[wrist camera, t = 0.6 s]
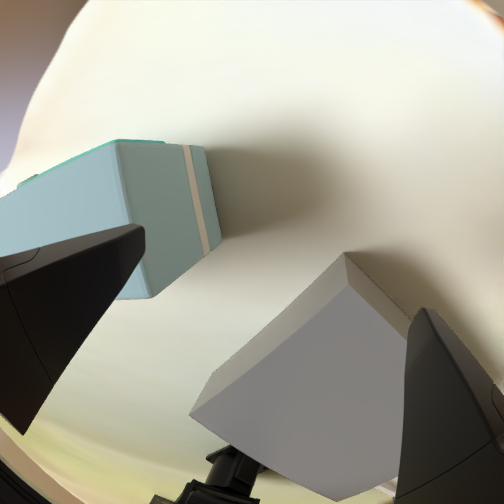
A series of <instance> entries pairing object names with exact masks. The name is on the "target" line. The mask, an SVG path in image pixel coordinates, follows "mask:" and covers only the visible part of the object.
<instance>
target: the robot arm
mask: <svg viewBox="0 0 504 504" xmlns="http://www.w3.org/2000/svg"><path fill="white" fill-rule="evenodd" d="M145 250H146V239H145V228H144V227H143V226H142V225H138V224H135V223H131V224H127V225H123V226H119V227H114V228H110V229H106V230H102V231H98V232H94V233H90V234H86V235H82V236H78V237H74V238H70V239H67V240H63V241H59V242H55V243H52V244H48V245H44V246H42V247H37V248H34V249H30V250H26V251H23V252H19V253H15V254H11V255H7V256H3V257H0V415H1V416H2V417H3V418H4V419H5V420H6V421H7V422H8V423H9V424H10V425H11V426H12V427H13V428H15V429H16V430H17V431H18V432H19V433H20V434H21V435H24V434H25V433H26V431H27V430H28V428H29V426H30V424H31V423H32V421H33V419H34V418H35V416H36V414H37V413H38V411H39V409H40V408H41V406H42V404H43V403H44V401H45V400H46V398H47V396H48V395H49V393H50V392H51V390H52V389H53V387H54V385H55V384H56V382H57V381H58V379H59V378H60V376H61V374H62V373H63V371H64V370H65V368H66V367H67V365H68V364H69V362H70V361H71V360H72V358H73V357H74V355H75V354H76V352H77V351H78V349H79V348H80V346H81V345H82V344H83V342H84V341H85V339H86V338H87V337H88V335H89V334H90V332H91V331H92V330H93V328H94V327H95V325H96V324H97V323H98V321H99V320H100V318H101V317H102V316H103V314H104V313H105V312H106V310H107V309H108V308H109V306H110V305H111V304H112V302H113V301H114V300H115V298H116V297H117V296H118V294H119V293H120V292H121V290H122V289H123V287H124V286H125V284H126V283H127V281H128V280H129V278H130V276H131V275H132V273H133V271H134V270H135V268H136V267H137V265H138V263H139V262H140V260H141V259H142V257H143V256H144V253H145ZM206 460H207V461H209V462H210V463H212V464H213V466H212V468H211V471H210V473H209V475H208V477H207V479H206V482H205V484H204V483H201V482H199V481H197V480H195V479H193V480H192V481H191V483H187V484H186V486H185V488H184V490H183V492H182V493H181V494H180V496H179V497H178V498H177V500H176V501H175V502H174V504H259V502H260V499H257V498H256V499H254V498H251V497H250V494H251V491H252V488H253V486H254V484H255V481H256V477H257V474H259V473H261V472H264V471H266V470H268V469H269V468H268V467H266V466H265V465H263V464H261V463H259V462H258V461H256V460H254V459H253V458H251V457H249V456H248V455H246V454H245V453H243V452H241V451H240V450H238V449H237V448H235V447H234V446H232V445H231V444H230V445H228V446H226V447H224V448H222V449H220V450H218V451H216V452H214V453H212V454H210V455H208V456H207V457H206ZM0 504H59V503H57V502H56V501H55V500H53V499H52V498H51V497H49V496H48V495H47V494H45V493H44V492H43V491H41V490H40V489H39V488H38V487H36V486H35V485H34V484H33V483H32V482H30V481H29V480H28V479H27V478H25V477H24V476H23V475H22V474H21V473H20V472H19V471H18V470H16V469H15V468H14V467H13V466H12V465H11V464H10V463H9V462H8V461H7V460H6V459H5V458H3V457H2V456H1V455H0ZM394 504H504V395H503V394H502V393H501V391H500V390H499V389H498V387H497V386H496V384H493V381H492V379H491V378H490V377H489V375H488V374H487V373H486V371H485V370H484V369H483V368H482V366H481V365H480V364H479V362H478V361H477V360H476V359H475V357H474V356H473V355H472V354H471V352H470V351H469V350H468V349H467V347H466V346H465V345H464V344H463V343H462V341H461V340H460V339H459V338H458V337H457V335H456V334H455V333H454V332H453V331H452V330H451V328H450V327H449V326H448V325H447V324H446V323H445V321H444V320H443V319H442V318H441V317H440V316H439V315H438V313H437V312H436V311H435V310H434V309H431V308H427V307H422V308H421V309H420V310H419V311H418V313H417V315H416V316H415V318H414V320H413V321H412V323H411V325H410V327H409V329H408V336H407V350H406V361H405V372H404V412H403V430H402V444H401V455H400V464H399V473H398V480H397V487H396V494H395V500H394Z"/></svg>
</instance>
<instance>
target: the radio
mask: <svg viewBox="0 0 504 504" xmlns="http://www.w3.org/2000/svg"><path fill="white" fill-rule="evenodd" d="M131 223H135V224H138V225H142V226H143V227H144V228H145V239H146V250H145V253H144V256H143V257H142V259H141V260H140V262H139V263H138V265H137V267H136V268H135V270H134V271H133V273H132V275H131V276H130V278H129V280H128V281H127V283H126V284H125V286H124V287H123V289H122V290H121V292H120V293H119V294H118V296H117V297H116V298H115V300H130V299H148V298H153V297H155V296H156V295H157V294H159V293H160V292H161V291H162V290H164V289H165V288H166V287H167V286H169V285H170V284H171V283H172V282H173V281H175V280H176V279H177V278H178V277H180V276H181V275H182V274H183V273H185V272H186V271H187V270H188V269H190V268H191V267H192V266H193V265H195V264H196V263H197V262H198V261H199V260H201V259H202V258H203V257H204V256H206V255H207V254H208V253H209V252H210V251H212V250H213V249H215V248H216V247H217V246H218V245H220V244H221V242H222V237H221V231H220V226H219V221H218V216H217V211H216V206H215V201H214V196H213V191H212V186H211V181H210V175H209V170H208V165H207V160H206V154H205V150H204V148H203V147H202V146H193V145H178V144H166V143H165V142H163V141H151V140H129V139H117V140H113V141H110V142H108V143H105V144H103V145H101V146H98V147H96V148H94V149H91V150H89V151H87V152H84V153H82V154H80V155H78V156H76V157H74V158H71V159H69V160H67V161H65V162H63V163H61V164H59V165H57V166H55V167H53V168H51V169H49V170H47V171H45V172H43V173H41V174H39V175H38V174H35V175H34V176H32V177H30V178H28V179H27V180H25V181H23V182H21V183H19V184H18V185H17V189H16V190H14V191H12V192H11V193H9V194H7V195H6V196H4V197H2V198H0V257H3V256H7V255H11V254H15V253H19V252H23V251H26V250H30V249H34V248H37V247H42V246H44V245H48V244H52V243H55V242H59V241H63V240H67V239H70V238H74V237H78V236H82V235H86V234H90V233H94V232H98V231H102V230H106V229H110V228H114V227H119V226H123V225H127V224H131Z"/></svg>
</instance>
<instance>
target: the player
mask: <svg viewBox="0 0 504 504" xmlns="http://www.w3.org/2000/svg"><path fill="white" fill-rule="evenodd" d="M411 323H412V321H411V320H410V318H409V317H408V316H407V315H406V314H405V313H404V312H403V311H402V310H401V309H400V308H399V307H398V306H397V305H396V304H395V303H394V302H393V301H392V300H391V299H390V298H389V297H388V296H387V295H386V294H385V293H384V292H383V291H382V290H381V289H380V288H379V287H378V286H377V285H376V284H375V283H374V282H373V281H372V280H371V279H370V278H369V277H368V276H367V275H366V274H365V273H364V272H363V271H362V270H361V269H360V268H359V267H358V266H357V265H356V264H355V263H354V262H353V261H352V260H351V259H350V258H349V257H348V256H347V255H346V254H345V253H343V254H342V255H341V256H340V257H339V258H338V259H337V260H336V261H335V262H334V263H333V264H332V265H330V266H329V267H328V268H327V269H326V270H325V271H324V272H323V273H322V274H321V275H320V276H319V277H318V278H317V279H316V280H315V281H314V282H313V283H312V284H311V285H310V286H309V287H308V288H307V289H306V290H305V291H304V292H303V293H302V294H301V295H299V296H298V297H297V298H296V299H295V300H294V301H293V302H292V303H291V304H290V305H289V306H288V307H287V308H286V309H285V310H283V311H282V312H281V313H280V314H279V315H278V316H277V317H276V318H275V319H274V320H273V321H271V322H270V323H269V324H268V325H267V326H266V327H265V328H264V329H263V330H262V331H260V332H259V333H258V334H257V335H256V336H255V337H254V338H253V339H251V340H250V341H249V342H248V343H247V344H246V345H245V346H244V347H242V348H241V349H240V350H239V351H238V352H237V353H235V354H234V355H233V356H232V357H231V358H230V359H229V360H227V361H226V362H225V363H224V364H223V365H222V366H220V367H219V368H218V369H217V370H216V371H214V372H213V373H212V375H211V377H210V378H209V380H208V382H207V384H206V385H205V387H204V389H203V391H202V392H201V394H200V396H199V398H198V399H197V401H196V403H195V405H194V406H193V408H192V410H191V411H190V413H189V416H191V417H192V418H193V419H195V420H196V421H197V422H199V423H200V424H201V425H203V426H204V427H206V428H207V429H208V430H210V431H211V432H213V433H214V434H216V435H217V436H219V437H220V438H221V439H223V440H224V441H226V442H227V443H229V444H231V445H232V446H234V447H235V448H237V449H238V450H240V451H241V452H243V453H245V454H246V455H248V456H249V457H251V458H253V459H254V460H256V461H258V462H259V463H261V464H263V465H265V466H266V467H268V468H270V469H272V470H273V471H275V472H277V473H279V474H281V475H282V476H284V477H286V478H288V479H290V480H292V481H294V482H296V483H297V484H299V485H301V486H303V487H305V488H307V489H309V490H312V491H314V492H316V493H318V494H320V495H322V496H324V497H326V498H329V499H331V500H333V501H336V502H338V501H341V500H344V499H347V498H349V497H352V496H354V495H357V494H360V493H362V492H364V491H367V490H369V489H372V488H374V487H376V486H379V485H381V484H383V483H385V482H387V481H389V480H392V479H394V478H396V477H398V473H399V464H400V455H401V444H402V430H403V412H404V372H405V361H406V350H407V336H408V329H409V327H410V325H411Z"/></svg>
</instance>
